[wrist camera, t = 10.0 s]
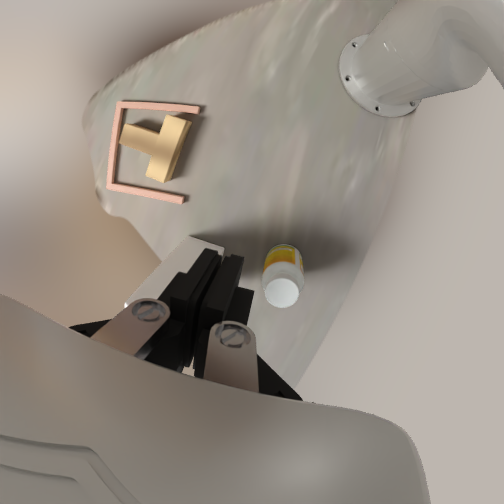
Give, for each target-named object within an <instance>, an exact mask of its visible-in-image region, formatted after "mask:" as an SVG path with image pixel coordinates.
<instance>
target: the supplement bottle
mask: <svg viewBox="0 0 504 504" xmlns="http://www.w3.org/2000/svg"><path fill="white" fill-rule="evenodd" d="M303 286H304V271H303V261H302V256H301V254H300V252H299V251H298V250H297V249H296V248H295V247H293V246H291V245H286V244H281V245H277V246H275V247H273V248H272V249H271V250H270V251H269V252H268V254H267V256H266V260H265V265H264V269H263V274H262V287H263V289H264V291H265V296H266V299H267V301H268V302H269V303H270V304H272V305H273V306H276V307H281V308H284V307H288V306H291V305H292V304H294V303H295V302H296V301H297V299H298V297H299V294H300V292H301V291H302V289H303Z"/></svg>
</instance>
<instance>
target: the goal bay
mask: <svg viewBox="0 0 504 504" xmlns="http://www.w3.org/2000/svg"><path fill="white" fill-rule="evenodd" d="M124 108H131V109H151V110H164V111H175V112H185V113H194V114H199V112H200V108H201V107H197V106H188V105H178V104H165V103H149V102H117V105H116V111H115V116H114V122H113V129H112V136H111V143H110V152H109V161H108V172H107V185H106V189H109V190H114V191H120V192H125V193H130V194H135V195H140V196H145V197H150V198H155V199H159V200H164V201H169V202H174V203H178V204H183V203H184V198H185V196H180V195H175V194H171V193H166V192H160V191H155V190H150V189H145V188H140V187H134V186H129V185H123V184H118V183H114V179H115V168H116V158H117V150H118V142H119V135H120V128H121V122H122V116H123V110H124Z"/></svg>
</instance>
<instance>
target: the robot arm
mask: <svg viewBox="0 0 504 504" xmlns="http://www.w3.org/2000/svg"><path fill="white" fill-rule="evenodd" d="M352 45H354V46H355V47H353V46H352ZM488 67H490V69H491V71H492V72H493V74H494V75H495V77H496V78H497V80H499V82H500V83H501V85H502V87H503V89H504V0H399V1H398V2H397V3H396V4H395V5H394V6H393V8H392V9H391V10H390V11H389V12H388V13H387V15H386V16H385V17H384V18H383V19H382V21H381V22H380V23H379V24H378V25H377V27H376V28H375V29H374V30H373V31H372V33H371V34H364V35H361V36H358V37H356V38H354V39H352V40H351V41H350V42H349V43H348V44H347V45H346V46H345V48H344V49H343V51H342V53H341V55H340V59H339V73H340V78H341V81H342V83H343V85H344V87H345V89H346V91H347V92H348V94H349V95H350V96H351V97H352V99H353V100H354V101H355V102H356V103H358V104H359V105H360V106H361V107H362V108H364V109H366V110H367V111H369V112H371V113H373V114H376V115H379V116H383V117H399V116H403V115H406V114H408V113H410V112H412V111H413V110H414V109H415V108H416V107H417V106H418V105H419V103H420V102H421V100H422V99H423V98H427V97H431V96H436V95H440V94H444V93H449V92H454V91H458V90H463V89H466V88H469V87H472V86H473V85H475V84H476V83H478V82H479V81H480V80H481V78H482V77H483V76H484V75H485V73H486V71H487V69H488ZM345 78H348V79H349V81H347V80H346V79H345ZM410 103H411V105H410ZM375 107H377V108H378V110H377V111H376V109H375ZM221 260H222V255H219V254H218V251H217V250H212V249H208V248H205V249H204V250H203V251H202V253H201V254H200V255H199V257H198V258H197V260H196V261H195V262H194V264H193V265H192V266H191V268H190V269H189V271H188V272H187V273H183V272H178V273H177V274H176V275H175V277H174V278H173V279H172V280H171V282H170V283H169V284H168V286H167V287H166V288H165V289H164V291H163V292H162V293H161V295H160V296H159V297H158V299H153V298H141V299H138V300H135V301H134V302H132V303H131V304H129V305H128V306H127V307H126V308H125V309H123V310H122V311H121V312H120V313H119V314H117V315H116V316H115V317H114V318H113V319H110V320H104V321H98V322H92V323H86V324H80V325H75V326H71V327H69V328H68V327H66V326H64V325H62V324H60V323H58V322H56V321H54V320H52V319H51V318H48V317H47V316H45V315H43V314H41V313H39V312H38V311H36V310H34V309H32V308H30V307H28V306H26V305H24V304H22V303H21V302H19V301H17V300H15V299H12V298H10V297H8V296H5V295H2V294H0V504H430V496H429V491H428V487H427V482H426V477H425V473H424V469H423V466H422V462H421V459H420V456H419V454H418V451H417V449H416V446H415V444H414V442H413V441H412V439H411V437H410V436H409V435H408V434H407V432H406V431H405V430H403V429H402V428H401V427H399V426H398V425H396V424H394V423H393V422H391V421H389V420H386V419H383V418H381V417H378V416H376V415H373V414H369V413H366V412H362V411H358V410H353V409H348V408H343V407H337V406H330V405H323V404H316V403H314V402H312V403H310V402H305V401H303V400H302V398H301V397H300V396H299V395H298V394H297V393H296V392H295V391H294V390H293V389H292V388H291V387H290V386H289V385H288V384H287V383H286V382H285V381H284V380H283V379H282V378H281V377H280V376H279V375H278V374H277V373H276V372H275V371H274V370H273V369H272V368H271V367H270V366H269V365H268V364H267V363H266V362H265V361H264V360H263V359H262V358H261V357H260V356H259V355H258V354H257V351H256V338H255V334H254V333H253V331H252V330H251V329H250V328H249V327H247V322H248V317H249V313H250V308H251V304H252V299H253V295H254V291H253V290H249V289H245V288H241V287H238V284H239V279H240V275H241V270H242V265H243V261H244V257H241V256H237V255H233V254H231V256H230V257H227V256H226V257H225V258H224V260H223V262H222V264H221ZM193 357H194V362H193V369H195V371H194V376H195V377H193V376H190V375H187V374H183V373H182V371H183V368H184V366H185V367H189V366H190V364H191V362H192V359H193Z"/></svg>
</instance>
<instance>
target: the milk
mask: <svg viewBox="0 0 504 504" xmlns="http://www.w3.org/2000/svg"><path fill="white" fill-rule="evenodd" d="M205 248H208V249H212V250H217V251H218V254H219V255H222V256H223V253H224V249H225V248H224V247H221V246H218V245H215V244H212V243H208V242H205V241H202V240H199V239H196V238H193V237H190V236H187V237H186V238H185V239H184V240H183V241H182V242H181V243H180V244H179V245H178V246H177V247H176V248H175V249H174V250H173V251H172V252H171V253H170V254H169V255H168V256H167V258H166V259H165V260H164V261H163V262H162V263H161V264H160V265H159V266H158V267H157V268H156V269H155V270H154V271H153V272H152V273H151V275H149V277H148V278H147V279H146V280H145V281H144V282H143V283H142V284H141V285H140V286H139V287H138V288H137V290H136V291H135V292H134V293H133V294H132V295H131V296H130V297H129V299H128V300H127V301H126V302H125V308H126V307H127V306H128V305H129V304H131V303H132V302H134V301H135V300H138V299H141V298H153V299H158V297H159V296H160V295H161V293H162V292H163V291H164V289H165V288H166V287H167V286H168V284H169V283H170V282H171V280H172V279H173V278H174V277H175V275H176V274H177V273H178V272H183V273H187V272H188V271H189V269H190V268H191V266H192V265H193V264H194V262H195V261H196V260H197V258H198V257H199V255H200V254H201V253H202V251H203V250H204V249H205Z"/></svg>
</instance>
